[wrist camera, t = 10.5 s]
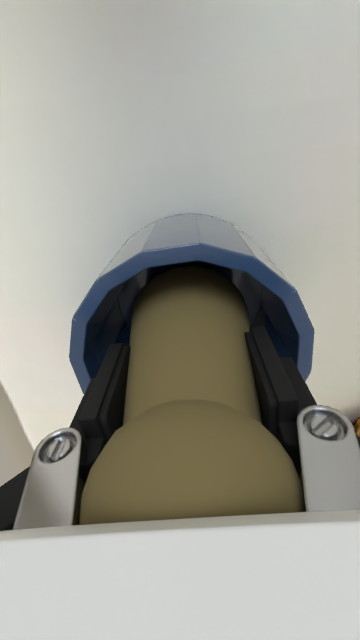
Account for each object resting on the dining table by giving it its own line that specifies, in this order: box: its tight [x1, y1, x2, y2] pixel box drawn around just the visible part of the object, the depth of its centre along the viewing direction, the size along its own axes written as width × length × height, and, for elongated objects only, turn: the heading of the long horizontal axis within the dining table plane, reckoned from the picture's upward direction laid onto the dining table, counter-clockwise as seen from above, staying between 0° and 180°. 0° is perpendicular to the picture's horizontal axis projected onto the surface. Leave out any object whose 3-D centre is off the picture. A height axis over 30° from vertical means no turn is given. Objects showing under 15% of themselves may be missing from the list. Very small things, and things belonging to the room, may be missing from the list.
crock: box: [69, 214, 314, 394], centre depth 15 cm, size 10×10×7 cm
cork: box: [79, 266, 304, 525], centre depth 10 cm, size 6×6×11 cm
